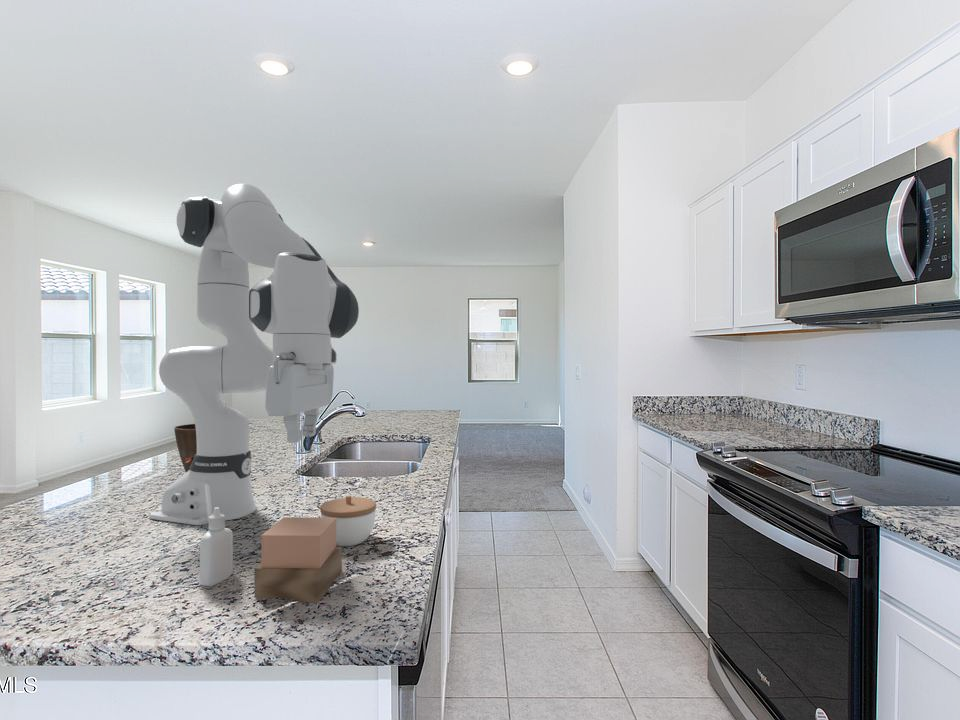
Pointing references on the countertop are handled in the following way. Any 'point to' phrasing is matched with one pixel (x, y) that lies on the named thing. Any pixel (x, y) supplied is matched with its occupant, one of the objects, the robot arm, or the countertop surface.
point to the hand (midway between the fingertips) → (302, 439)
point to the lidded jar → (350, 518)
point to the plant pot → (186, 443)
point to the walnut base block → (298, 580)
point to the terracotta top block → (298, 543)
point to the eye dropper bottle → (216, 551)
